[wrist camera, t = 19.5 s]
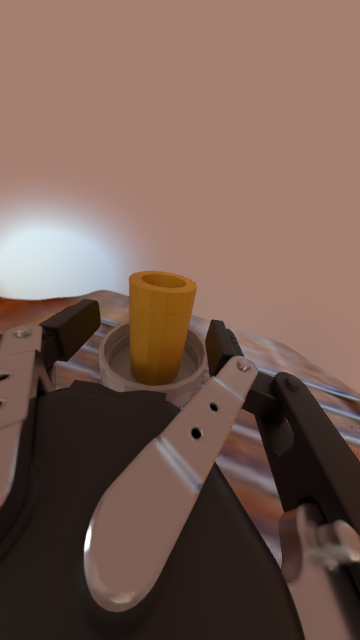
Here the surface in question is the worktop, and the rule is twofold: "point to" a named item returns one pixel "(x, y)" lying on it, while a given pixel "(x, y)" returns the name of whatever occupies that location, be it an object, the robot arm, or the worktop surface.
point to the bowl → (121, 380)
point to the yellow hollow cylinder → (158, 324)
